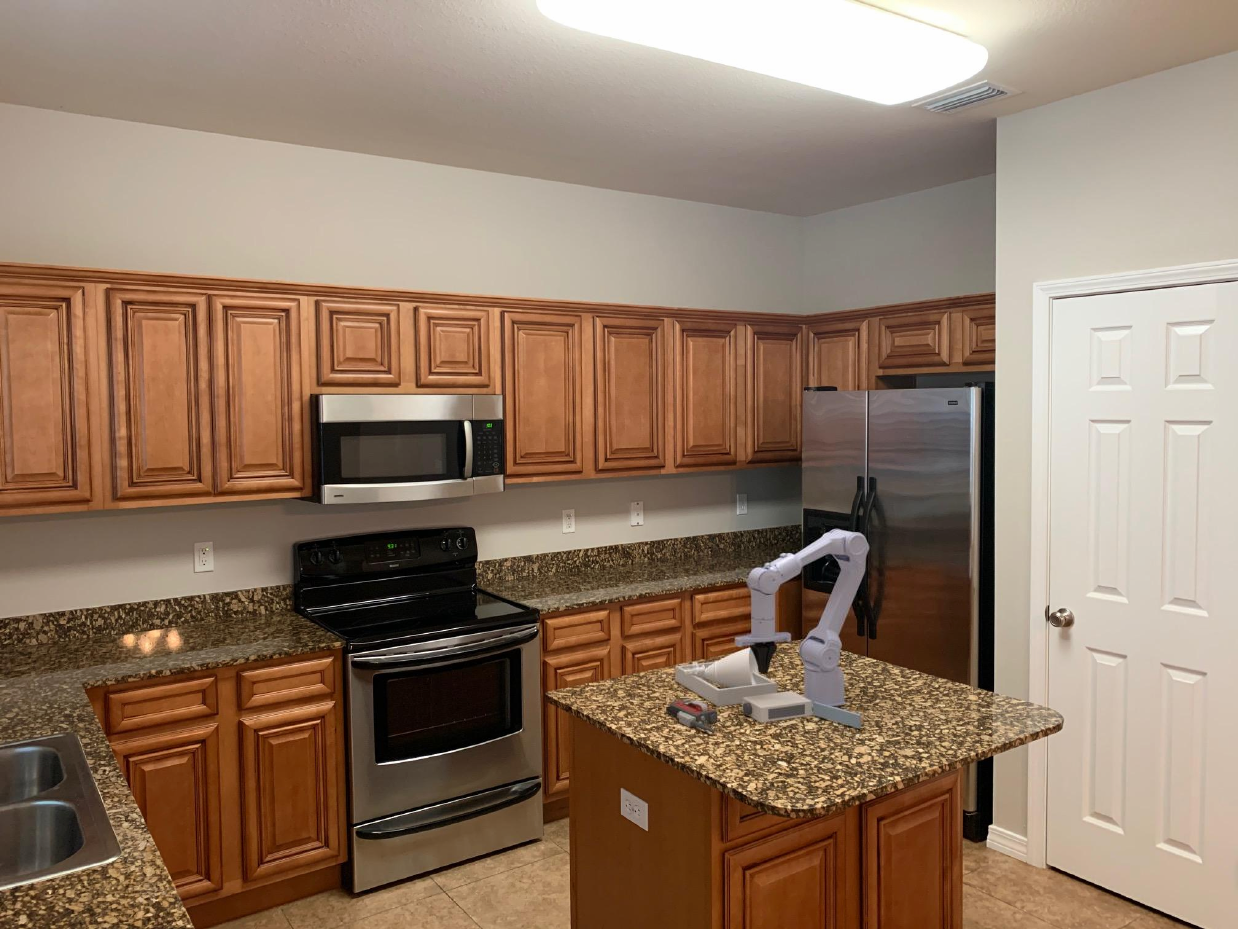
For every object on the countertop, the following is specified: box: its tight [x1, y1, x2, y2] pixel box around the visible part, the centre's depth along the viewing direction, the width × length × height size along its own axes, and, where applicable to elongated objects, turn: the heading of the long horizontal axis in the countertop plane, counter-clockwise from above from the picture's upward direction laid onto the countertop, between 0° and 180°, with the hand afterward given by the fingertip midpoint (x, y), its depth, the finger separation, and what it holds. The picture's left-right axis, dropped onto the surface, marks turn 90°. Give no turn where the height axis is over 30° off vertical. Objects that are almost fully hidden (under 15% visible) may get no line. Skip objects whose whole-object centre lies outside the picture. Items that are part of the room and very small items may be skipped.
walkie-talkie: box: [665, 698, 718, 734], centre depth 220 cm, size 9×4×20 cm
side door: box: [812, 702, 864, 729], centre depth 219 cm, size 13×2×3 cm, turn 40°
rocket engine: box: [684, 647, 759, 688], centre depth 245 cm, size 12×12×18 cm
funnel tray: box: [674, 661, 778, 707], centre depth 247 cm, size 17×25×4 cm
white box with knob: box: [741, 690, 813, 724], centre depth 226 cm, size 15×9×4 cm, turn 112°
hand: (763, 673), depth 228 cm, fingers closed
